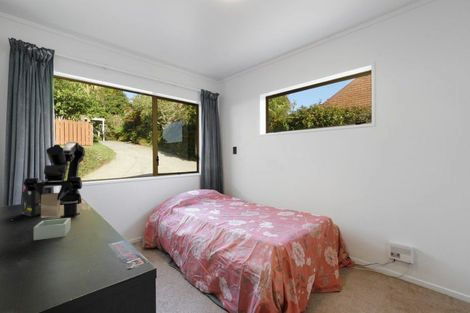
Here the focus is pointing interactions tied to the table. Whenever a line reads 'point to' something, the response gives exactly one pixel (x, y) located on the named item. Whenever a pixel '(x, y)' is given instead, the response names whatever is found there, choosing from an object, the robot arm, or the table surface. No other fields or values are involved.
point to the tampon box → (32, 202)
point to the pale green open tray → (52, 228)
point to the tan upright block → (50, 205)
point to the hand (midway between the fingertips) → (49, 200)
